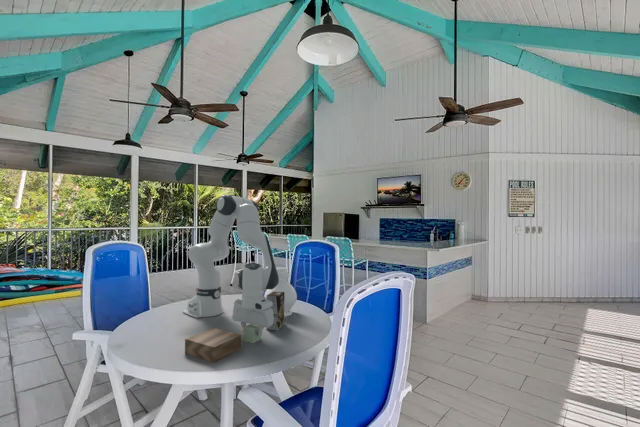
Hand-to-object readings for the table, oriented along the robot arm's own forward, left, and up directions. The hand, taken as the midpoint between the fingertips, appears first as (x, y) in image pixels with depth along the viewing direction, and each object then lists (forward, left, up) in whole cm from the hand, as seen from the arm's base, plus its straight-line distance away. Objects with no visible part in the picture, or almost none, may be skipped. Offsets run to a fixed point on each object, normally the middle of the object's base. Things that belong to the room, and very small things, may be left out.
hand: (252, 333), depth 135 cm
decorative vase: (-11, +36, -3) cm, 38 cm away
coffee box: (-1, +18, -3) cm, 18 cm away
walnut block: (-6, -16, -3) cm, 17 cm away
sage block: (0, 0, -3) cm, 3 cm away
